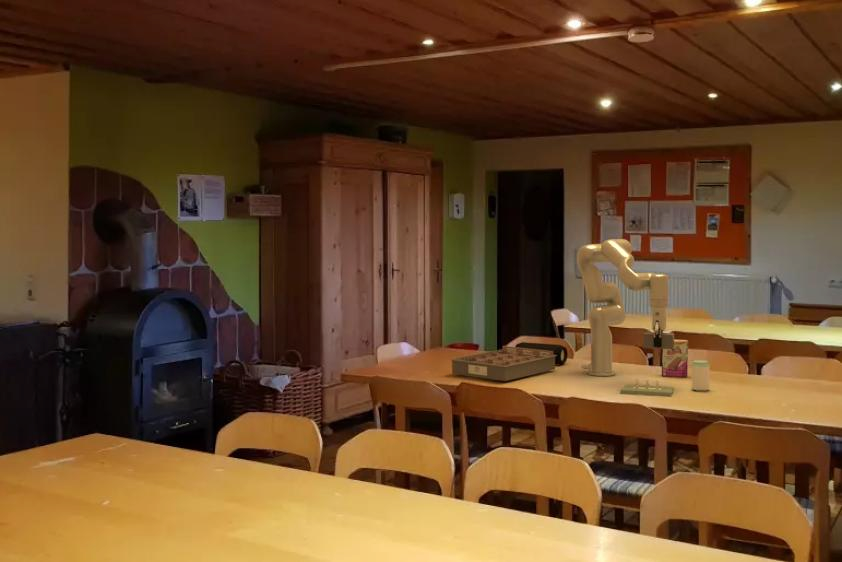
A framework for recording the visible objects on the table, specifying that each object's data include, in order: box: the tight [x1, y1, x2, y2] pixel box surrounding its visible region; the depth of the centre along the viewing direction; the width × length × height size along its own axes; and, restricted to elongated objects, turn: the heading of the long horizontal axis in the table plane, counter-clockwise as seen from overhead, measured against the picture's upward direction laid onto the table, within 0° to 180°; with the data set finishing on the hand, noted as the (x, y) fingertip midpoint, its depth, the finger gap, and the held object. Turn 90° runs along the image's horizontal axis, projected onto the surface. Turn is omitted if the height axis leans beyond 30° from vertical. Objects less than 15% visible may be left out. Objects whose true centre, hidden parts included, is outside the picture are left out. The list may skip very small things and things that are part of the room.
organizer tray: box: [449, 345, 557, 382], centre depth 398 cm, size 32×40×10 cm
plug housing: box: [642, 331, 675, 350], centre depth 360 cm, size 12×6×6 cm, turn 68°
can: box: [691, 359, 711, 392], centre depth 353 cm, size 7×7×12 cm
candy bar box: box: [661, 339, 689, 378], centre depth 384 cm, size 11×5×16 cm, turn 71°
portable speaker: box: [514, 341, 569, 365], centre depth 426 cm, size 26×10×10 cm, turn 56°
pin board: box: [619, 378, 675, 397], centre depth 350 cm, size 20×12×5 cm, turn 68°
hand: (658, 345), depth 361 cm, fingers closed on plug housing, 6 cm apart
